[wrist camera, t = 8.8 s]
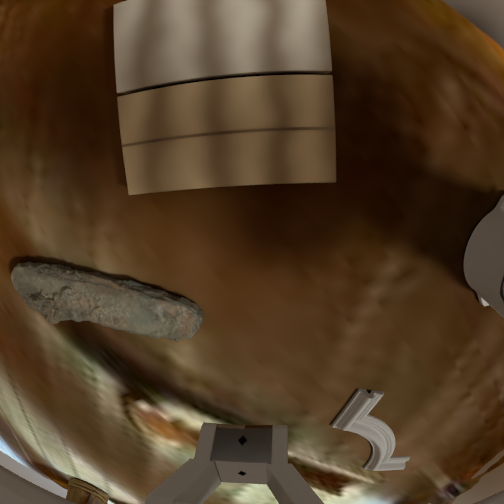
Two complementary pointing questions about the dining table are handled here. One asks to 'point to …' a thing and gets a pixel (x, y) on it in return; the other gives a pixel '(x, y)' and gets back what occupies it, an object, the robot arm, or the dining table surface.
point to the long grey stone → (105, 301)
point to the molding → (370, 430)
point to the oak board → (229, 133)
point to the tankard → (85, 493)
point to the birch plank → (217, 40)
